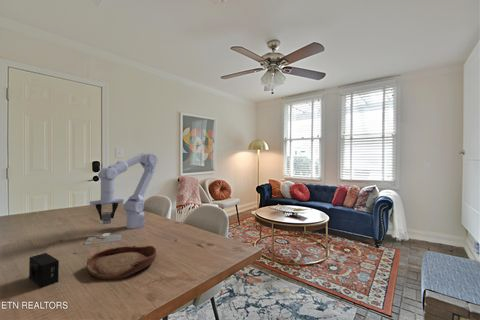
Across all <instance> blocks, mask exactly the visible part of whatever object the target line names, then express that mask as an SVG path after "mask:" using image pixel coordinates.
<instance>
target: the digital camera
mask: <svg viewBox="0 0 480 320" xmlns="http://www.w3.org/2000/svg"><path fill="white" fill-rule="evenodd" d="M28 260H29V266H28V267H29V269H28V270H29V271H28V278H29V280H31V282H33V283H34V284H36V285H37V286H38V287H39V288H41V289H44V288H46V287H48V286H51V285H53V284H54V285H55V284H56V283H58V282H59V272H60V271H59V270H60V269H59V267H60V265H59V264H60V262H59V261H60V260H58V258H55V257H54V256H52V255H50V254H49V253H47V252H44V253H40V254H37V255H36V254H35V255H33V256H30V257H29V259H28Z"/></svg>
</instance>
